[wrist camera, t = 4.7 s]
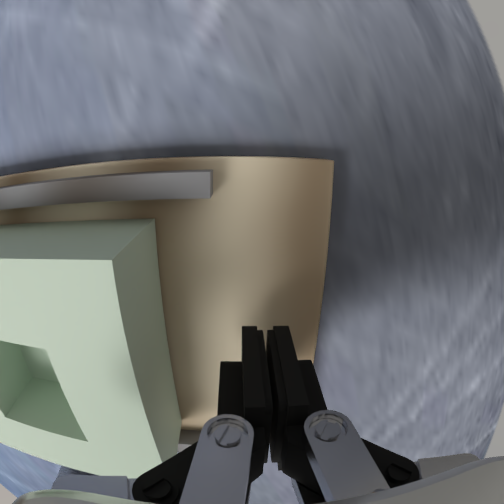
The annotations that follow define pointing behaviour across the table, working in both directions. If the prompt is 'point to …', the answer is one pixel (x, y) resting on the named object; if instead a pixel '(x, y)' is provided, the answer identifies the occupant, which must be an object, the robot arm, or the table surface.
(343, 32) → the table surface
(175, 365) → the rail board
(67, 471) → the grey round-ended peg
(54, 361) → the sliding block
